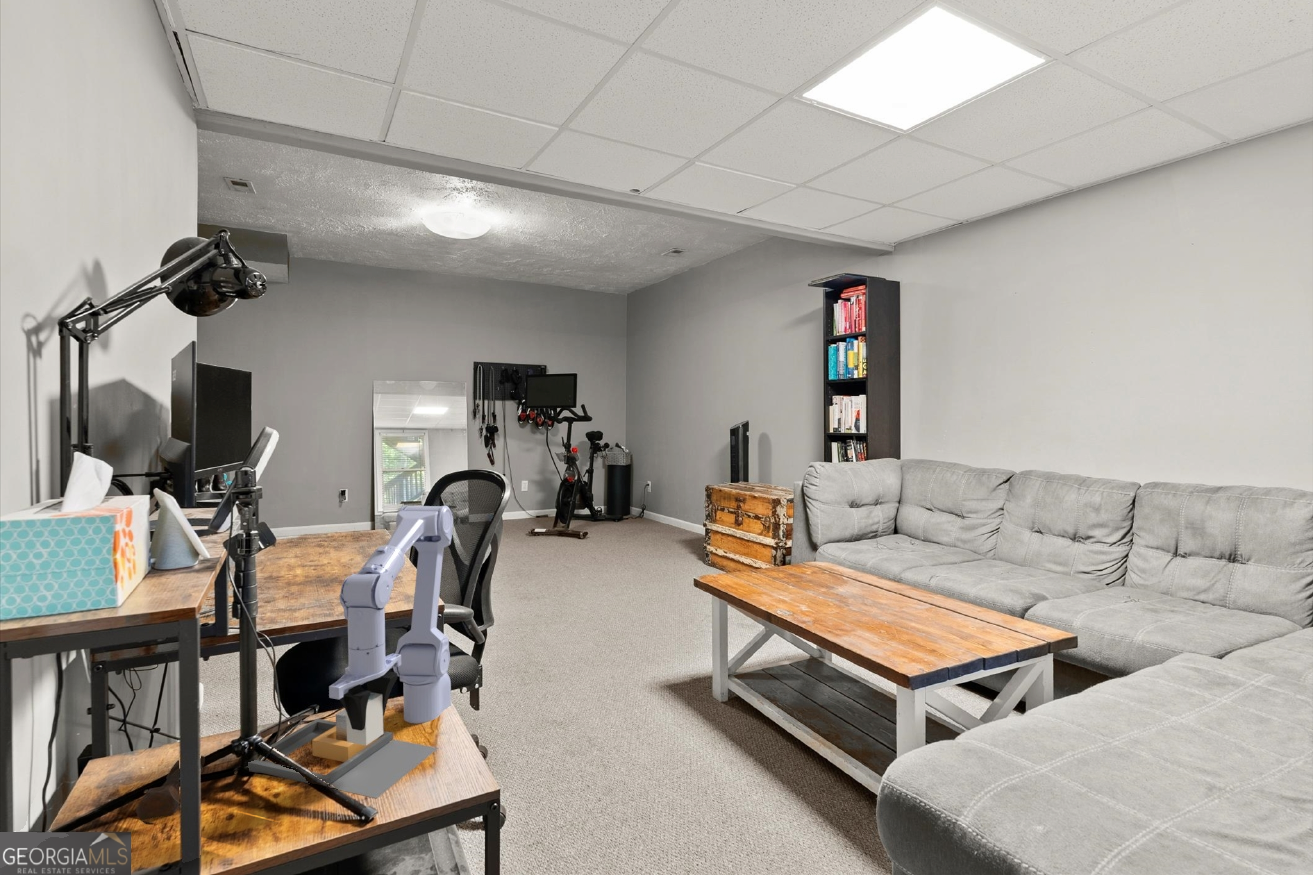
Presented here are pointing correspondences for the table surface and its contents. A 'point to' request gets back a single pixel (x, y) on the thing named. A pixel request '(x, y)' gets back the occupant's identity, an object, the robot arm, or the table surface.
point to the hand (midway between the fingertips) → (368, 722)
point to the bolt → (162, 797)
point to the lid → (383, 768)
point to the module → (368, 722)
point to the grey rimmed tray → (320, 751)
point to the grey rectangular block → (341, 726)
